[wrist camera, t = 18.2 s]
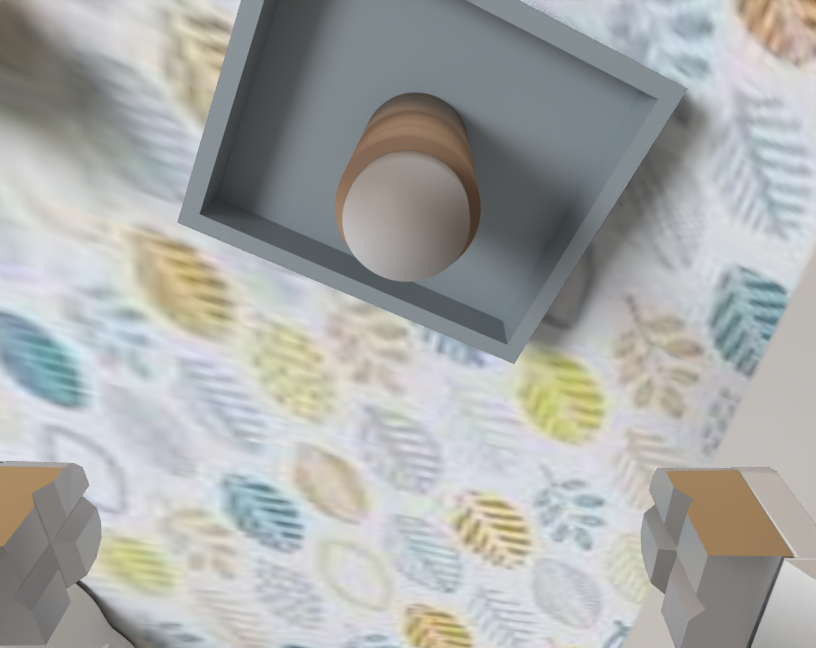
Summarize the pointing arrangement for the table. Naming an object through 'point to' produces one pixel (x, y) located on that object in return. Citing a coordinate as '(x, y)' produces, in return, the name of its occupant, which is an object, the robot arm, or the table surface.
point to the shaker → (410, 190)
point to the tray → (487, 133)
